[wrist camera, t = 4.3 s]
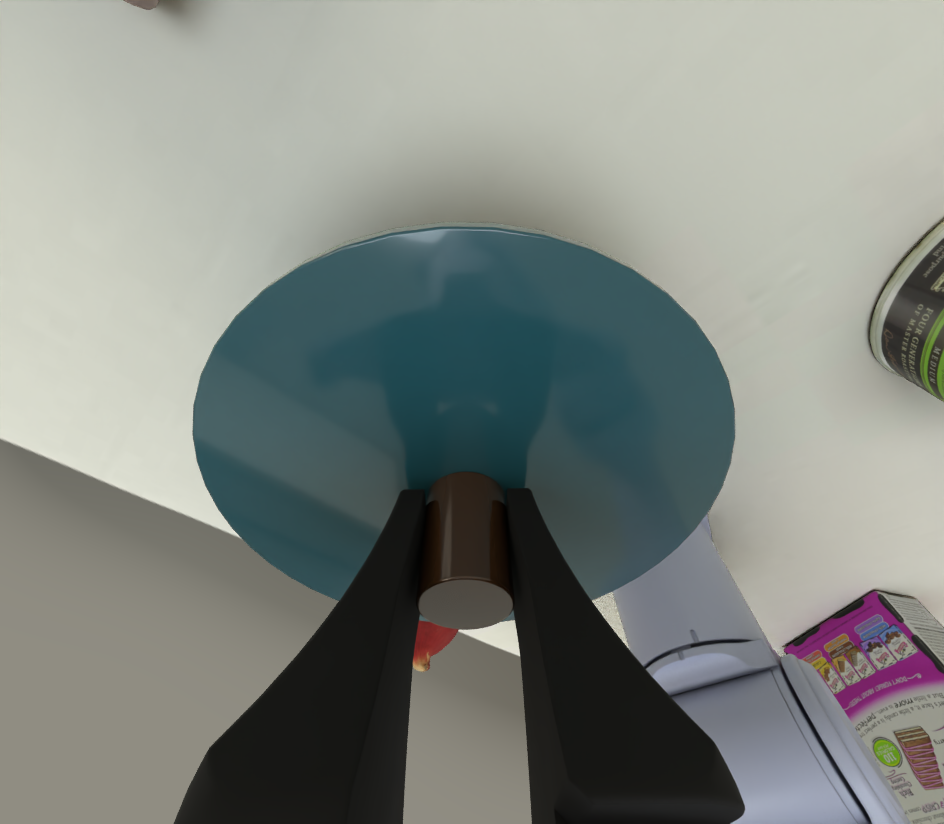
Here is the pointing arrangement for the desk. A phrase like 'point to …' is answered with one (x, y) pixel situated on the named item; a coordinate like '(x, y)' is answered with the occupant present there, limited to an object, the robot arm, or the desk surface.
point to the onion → (430, 643)
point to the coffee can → (914, 317)
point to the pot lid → (463, 412)
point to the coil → (143, 3)
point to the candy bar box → (889, 691)
